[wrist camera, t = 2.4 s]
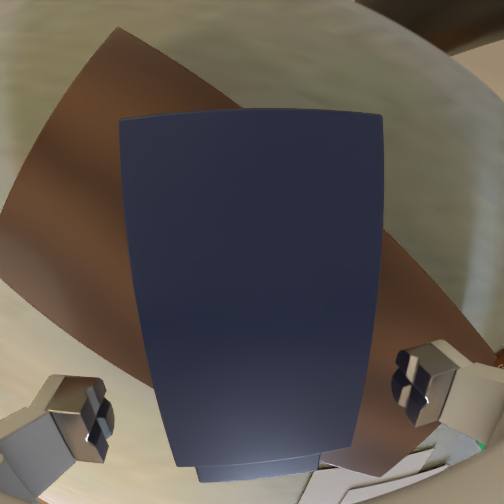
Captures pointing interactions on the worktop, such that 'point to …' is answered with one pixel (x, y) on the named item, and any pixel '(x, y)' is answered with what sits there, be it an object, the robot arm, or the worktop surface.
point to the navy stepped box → (255, 279)
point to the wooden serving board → (116, 251)
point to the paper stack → (364, 482)
